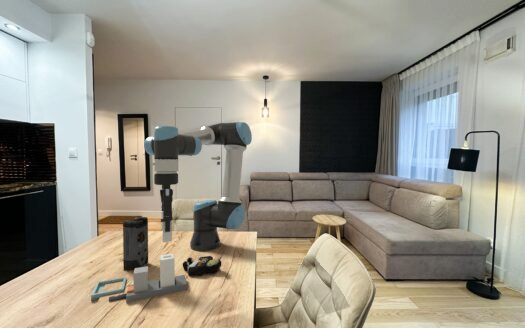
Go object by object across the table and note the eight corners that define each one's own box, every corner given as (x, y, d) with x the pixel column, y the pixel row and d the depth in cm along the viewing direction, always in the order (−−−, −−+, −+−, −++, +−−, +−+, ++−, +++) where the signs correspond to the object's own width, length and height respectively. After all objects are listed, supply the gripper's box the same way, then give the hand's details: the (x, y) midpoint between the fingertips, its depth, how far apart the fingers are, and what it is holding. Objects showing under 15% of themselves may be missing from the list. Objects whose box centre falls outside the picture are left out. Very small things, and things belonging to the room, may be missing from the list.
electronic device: (134, 273, 95) (133, 222, 94) (121, 271, 96) (120, 222, 95) (150, 262, 104) (149, 217, 103) (138, 261, 105) (137, 216, 104)
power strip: (184, 282, 88) (184, 258, 87) (187, 292, 81) (186, 266, 81) (111, 297, 78) (110, 270, 78) (107, 310, 72) (106, 280, 72)
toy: (191, 253, 103) (223, 246, 101) (196, 270, 103) (228, 264, 100) (176, 267, 91) (211, 259, 88) (181, 286, 91) (217, 279, 88)
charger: (173, 284, 85) (173, 252, 85) (174, 290, 81) (174, 257, 81) (160, 286, 83) (160, 254, 83) (160, 293, 79) (160, 260, 79)
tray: (126, 281, 88) (126, 276, 88) (123, 294, 80) (123, 289, 80) (97, 286, 85) (97, 281, 85) (91, 300, 76) (91, 295, 76)
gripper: (154, 170, 91) (154, 226, 91) (154, 175, 68) (154, 249, 68) (175, 170, 94) (175, 224, 94) (181, 174, 71) (181, 245, 71)
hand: (166, 235), depth 81 cm, fingers open, 13 cm apart
